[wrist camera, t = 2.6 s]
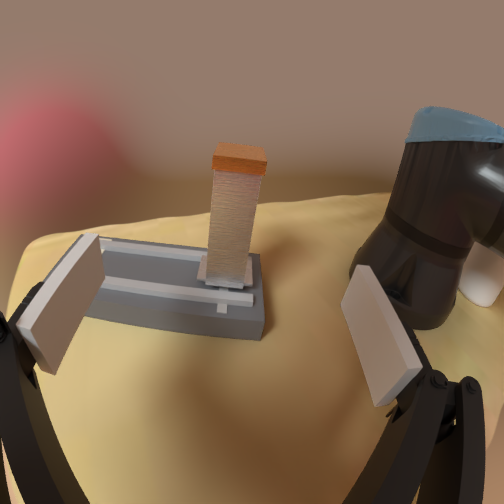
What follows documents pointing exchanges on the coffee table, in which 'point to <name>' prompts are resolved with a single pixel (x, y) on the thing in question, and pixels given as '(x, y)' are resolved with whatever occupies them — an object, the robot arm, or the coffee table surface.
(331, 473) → the coffee table surface
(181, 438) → the coffee table surface
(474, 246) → the mug
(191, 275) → the console
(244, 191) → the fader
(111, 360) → the coffee table surface
